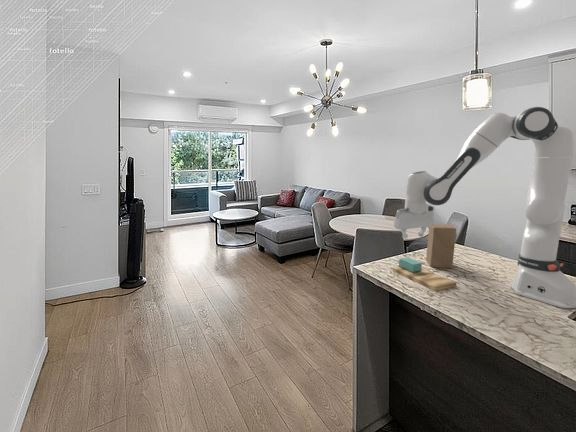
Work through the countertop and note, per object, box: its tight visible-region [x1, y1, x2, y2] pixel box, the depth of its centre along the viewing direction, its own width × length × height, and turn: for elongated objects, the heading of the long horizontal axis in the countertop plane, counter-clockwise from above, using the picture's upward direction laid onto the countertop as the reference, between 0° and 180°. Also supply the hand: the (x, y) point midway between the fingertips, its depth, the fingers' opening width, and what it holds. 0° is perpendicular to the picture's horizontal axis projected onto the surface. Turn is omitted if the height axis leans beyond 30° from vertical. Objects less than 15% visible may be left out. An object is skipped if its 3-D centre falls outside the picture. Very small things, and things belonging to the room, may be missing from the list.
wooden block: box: [425, 223, 457, 269], centre depth 155 cm, size 10×10×20 cm
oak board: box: [392, 266, 458, 291], centre depth 139 cm, size 25×12×2 cm, turn 23°
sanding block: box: [398, 257, 423, 273], centre depth 146 cm, size 9×5×4 cm, turn 23°
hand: (413, 237), depth 143 cm, fingers open, 8 cm apart
